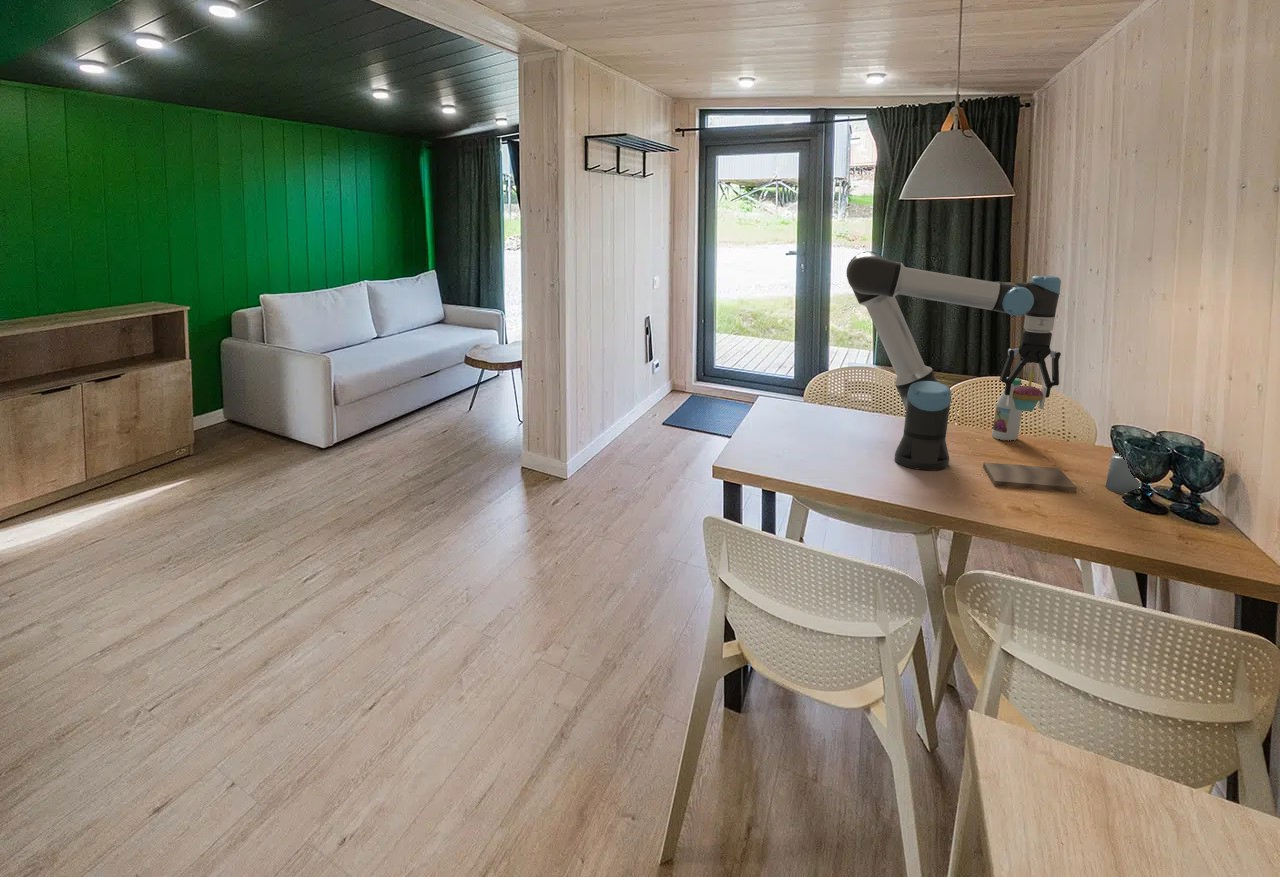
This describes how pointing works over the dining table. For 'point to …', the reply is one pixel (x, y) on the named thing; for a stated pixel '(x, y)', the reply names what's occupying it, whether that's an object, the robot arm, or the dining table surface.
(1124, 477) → the grey rounded block
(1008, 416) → the milk bottle
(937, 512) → the dining table surface
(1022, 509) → the dining table surface
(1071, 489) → the walnut board
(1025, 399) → the cupcake
